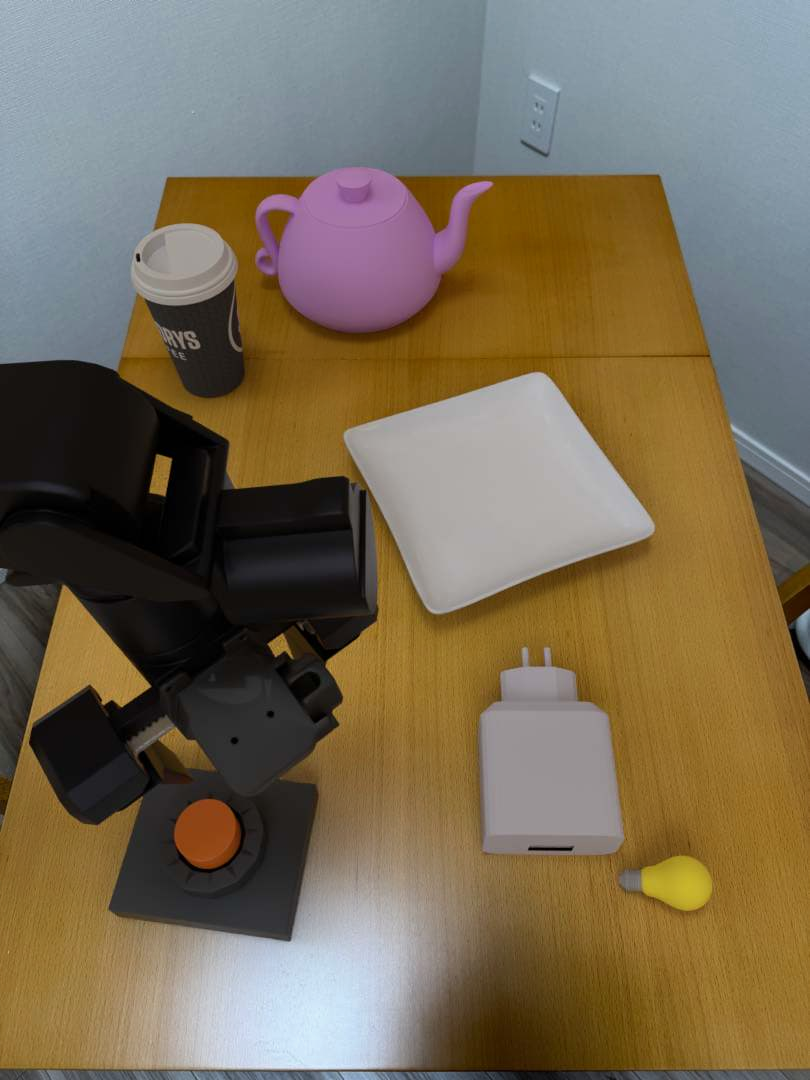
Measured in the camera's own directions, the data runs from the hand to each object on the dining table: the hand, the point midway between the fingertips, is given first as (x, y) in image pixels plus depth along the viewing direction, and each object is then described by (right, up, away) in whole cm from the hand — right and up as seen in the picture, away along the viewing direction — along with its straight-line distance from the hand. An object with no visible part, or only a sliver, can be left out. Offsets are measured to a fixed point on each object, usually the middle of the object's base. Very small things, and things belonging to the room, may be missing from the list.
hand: (251, 729), depth 53 cm
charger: (+20, -4, +12) cm, 23 cm away
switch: (-3, -8, +4) cm, 10 cm away
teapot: (+6, +39, +42) cm, 58 cm away
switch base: (-3, -10, +7) cm, 13 cm away
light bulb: (+27, -12, +6) cm, 30 cm away
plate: (+17, +15, +25) cm, 34 cm away
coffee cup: (-10, +28, +35) cm, 46 cm away
